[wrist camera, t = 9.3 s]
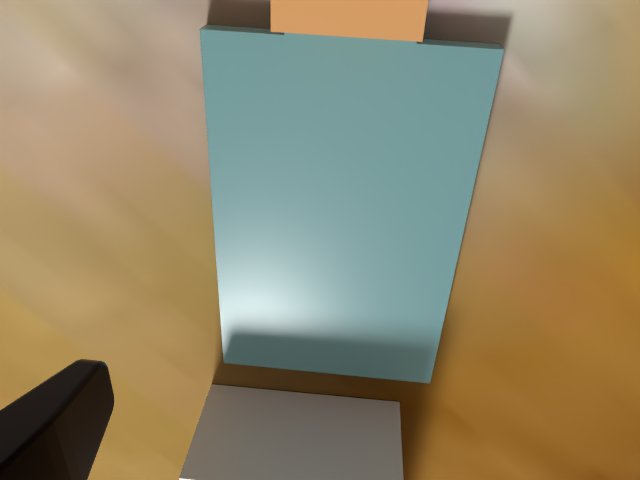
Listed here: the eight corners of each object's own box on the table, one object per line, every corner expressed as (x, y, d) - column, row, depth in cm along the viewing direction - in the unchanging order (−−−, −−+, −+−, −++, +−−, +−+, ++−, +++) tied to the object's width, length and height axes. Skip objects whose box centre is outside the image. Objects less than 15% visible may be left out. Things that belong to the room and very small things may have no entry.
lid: (528, -94, 15) (580, -92, 11) (428, 370, 24) (437, 454, 20) (198, -111, 15) (139, -116, 11) (227, 350, 25) (201, 429, 21)
